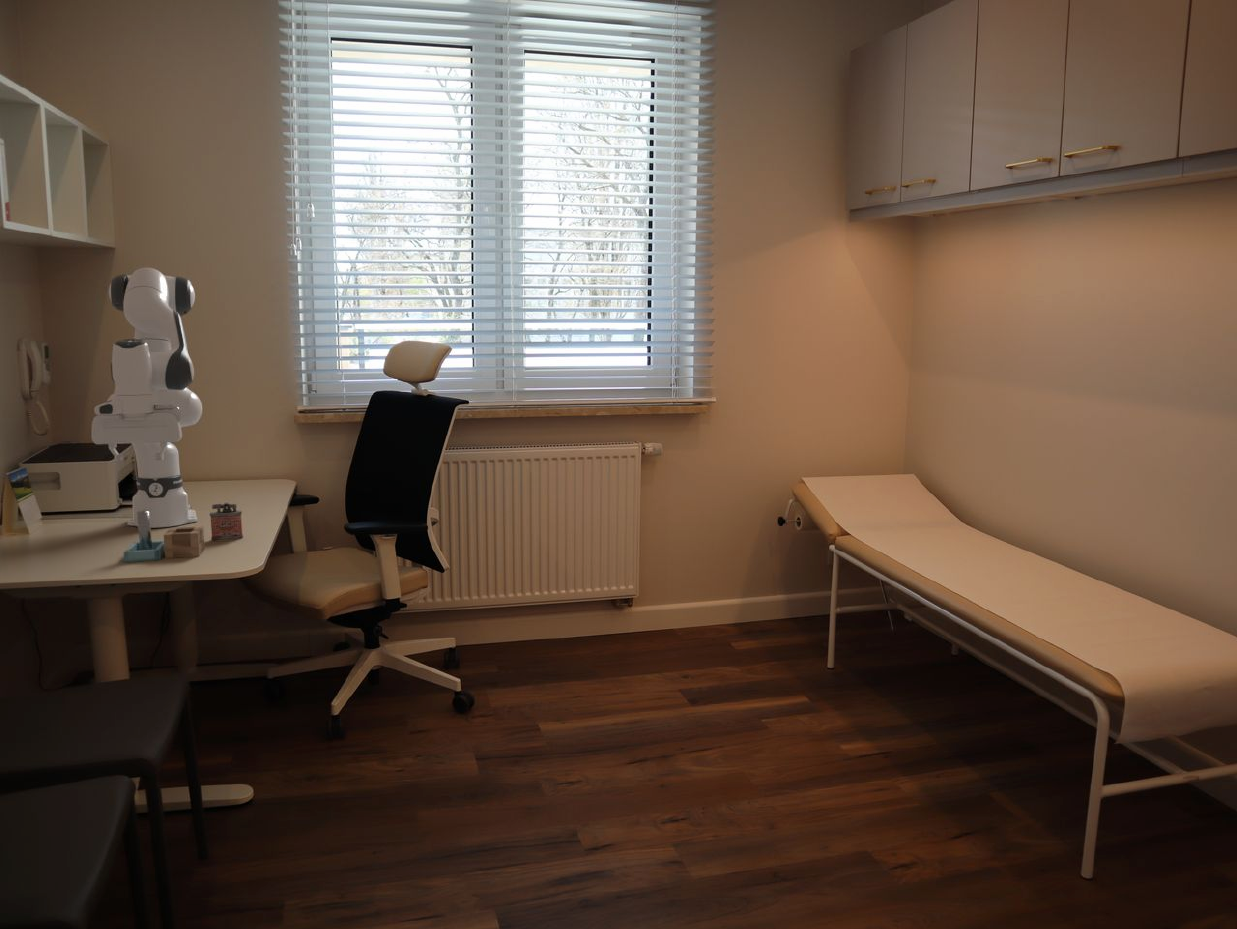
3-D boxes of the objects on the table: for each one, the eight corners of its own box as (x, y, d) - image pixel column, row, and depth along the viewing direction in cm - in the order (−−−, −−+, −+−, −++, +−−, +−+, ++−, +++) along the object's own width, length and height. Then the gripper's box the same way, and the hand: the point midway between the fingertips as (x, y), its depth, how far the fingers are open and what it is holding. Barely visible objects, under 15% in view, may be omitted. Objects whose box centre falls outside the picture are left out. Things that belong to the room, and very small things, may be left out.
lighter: (243, 536, 273) (240, 500, 271) (243, 539, 270) (241, 503, 268) (211, 538, 270) (209, 502, 268) (211, 541, 267) (208, 505, 265)
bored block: (171, 550, 256) (170, 528, 256) (204, 548, 258) (203, 526, 257) (165, 558, 249) (163, 534, 248) (199, 556, 251) (197, 533, 250)
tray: (134, 551, 255) (133, 542, 255) (168, 550, 257) (167, 540, 257) (124, 562, 245) (123, 552, 244) (159, 560, 246) (158, 550, 246)
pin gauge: (141, 553, 252) (138, 510, 250) (153, 552, 252) (150, 510, 251) (139, 555, 249) (135, 513, 247) (151, 555, 250) (147, 512, 248)
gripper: (182, 403, 250) (186, 457, 253) (94, 405, 246) (98, 460, 248) (178, 405, 244) (181, 461, 247) (87, 407, 239) (91, 464, 242)
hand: (139, 460), depth 247 cm, fingers open, 8 cm apart
